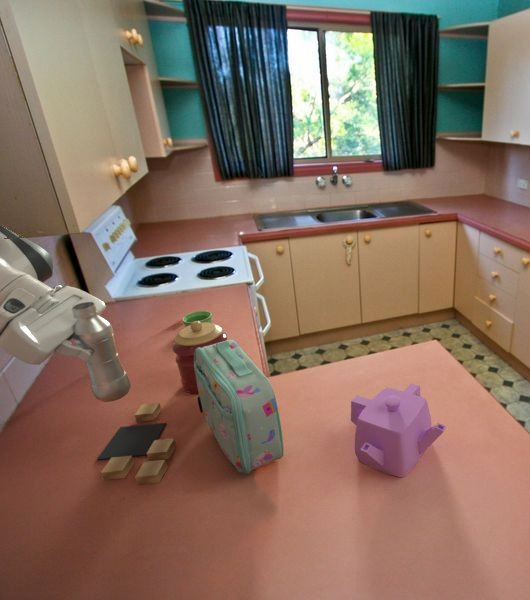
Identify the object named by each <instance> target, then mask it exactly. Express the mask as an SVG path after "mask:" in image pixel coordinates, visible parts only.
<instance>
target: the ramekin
mask: <svg viewBox="0 0 530 600" xmlns="http://www.w3.org/2000/svg"><path fill="white" fill-rule="evenodd" d="M212 318H213V314H212V312H211V311H208V310H197V311H192V312H190V313H187V314H185V315H184V316H183V317H182V319H181V320H182V323H183V324H184V328H185V327H187V326H189V325H191V323H192V322H194V321H199V322H200V323H203V322H207V323H212V324H213V319H212Z"/></svg>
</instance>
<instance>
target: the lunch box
mask: <svg viewBox="0 0 530 600" xmlns="http://www.w3.org/2000/svg"><path fill="white" fill-rule="evenodd" d="M194 370H195V374H196V381H197V386H198V392H199V394H198V397H197V399H196V401H197V404H198V408H199V412H200V414H203V415H204V418H205V420H206V423H207V425H208V427H209V430H210V431H211V433H212V434H213V437H214V438H215V439H216V441H217V442H218V446H219V447H220V449H221V450H222V452H223V454H224V455H225V457H226V458H227V460H228V461H229V462H230V463H231V464H232V466H234V468H235V469H236V470H237V471H238V473H240V474H241V475H249V474H250V473H251V472H252V471H254V470H256V469H258V468H260V467H262V466H265V465H267V464H271V463H273V462H275V461H277V460H281V459H282V458H283V456H284V440H283V430H282V424H281V419H280V413H279V407H278V403H277V399H276V395H275V392H274V389H273V385H272V383H271V382H270V380H269V379H268V377H267V376H266V375H265V374H264V372H263V371H262V370H261V369H260V368H259V367H258V365H256V363H254V361H253V360H252V359H251V358H250V357H249V356H248V354H247V353H246V352H245V351H244V350H243V348H242V347H241V346H240V345H239V344H238V342H236V341H235V340H234V339H227V341H223V342H220V343H216V344H213V345H209V346H205V347H203V348H200V347H199V348H197V349H196V350H195V352H194Z"/></svg>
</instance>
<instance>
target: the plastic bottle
mask: <svg viewBox="0 0 530 600" xmlns="http://www.w3.org/2000/svg"><path fill="white" fill-rule="evenodd" d="M72 312H73V316H74V318H75V319H77V321H76V323H75V325H74V333H73V335H72V340H73V342H74V344H75V346H77V347H81V348H82V349H83V348H84V347H85V346H86V347H87V348H89V349H91V350H93V351H94V353H93V354H92V356H91V357H90V358H89V359H88V360H87V361H84V362H85V366H86V368H87V371H88V374H89V378H90V388H91V392H92V394H93V396H94V398H95V399H97V400H99V401H100V402H103V403H111V402H114V401H118V400H120V399H122V398H124V397H125V396H127V395H128V394H129V392H130V390H131V387H132V385H131V379H130V377H129V374H128V373H127V371H126V370H125V367H124V365H123V364H122V362H121V359H120V357H119V353H118V350H117V346H116V340H115V333H114V329H113V328H114V327H113V326H112V324H111V323H110V322H109V321H108V320H107V319H105V318H104V317H102V316H101V315H100V316H99V315H98V309H97V308H96V305H95V303H94V302H84V303H80V304H77V305H75V306H73V307H72Z"/></svg>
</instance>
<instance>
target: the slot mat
mask: <svg viewBox="0 0 530 600" xmlns="http://www.w3.org/2000/svg"><path fill="white" fill-rule="evenodd" d="M166 426H167V422H159V423H147V424H137V425H128V426H127V425H125V426H119V428H118V429H117V431H116V432H115V433H114V435H113V437H112V438H111V439H110V440H109V442H108V443H107V445H106V446H105V447H104V449H103V450H102V451H101V453H100V454H99V455H98V457H97V459H96V460H97V462H100V461H101V462H102V461H109V460H110V459H111V458H113V457H123V456H132V458H139V457H140V458H141V457H148V456H147V452H148V450H149V449H150V447H151V445H152V444H153V442H154V440H159V438H160V437H161V435H162V433H163V431H164V430H165V428H166Z"/></svg>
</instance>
